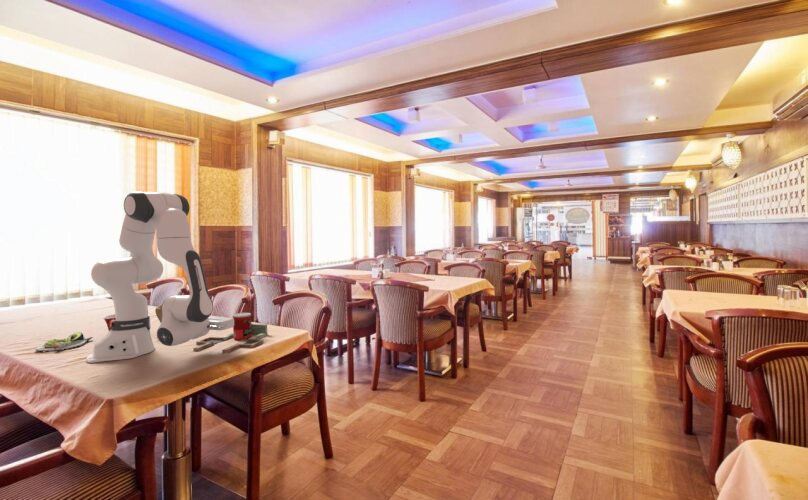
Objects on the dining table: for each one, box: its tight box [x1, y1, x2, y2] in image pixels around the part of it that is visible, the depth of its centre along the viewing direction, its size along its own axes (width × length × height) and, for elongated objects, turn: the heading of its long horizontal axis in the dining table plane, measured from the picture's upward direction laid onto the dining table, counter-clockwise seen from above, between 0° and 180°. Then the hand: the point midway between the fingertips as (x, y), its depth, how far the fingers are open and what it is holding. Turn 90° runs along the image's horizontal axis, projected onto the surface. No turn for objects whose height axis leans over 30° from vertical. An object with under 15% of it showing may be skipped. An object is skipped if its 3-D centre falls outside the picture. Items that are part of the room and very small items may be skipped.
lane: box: [193, 323, 268, 354], centre depth 174 cm, size 28×28×5 cm
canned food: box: [232, 312, 253, 341], centre depth 180 cm, size 8×8×11 cm
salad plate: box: [35, 331, 94, 352], centre depth 174 cm, size 19×18×5 cm
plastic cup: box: [102, 313, 116, 332], centre depth 183 cm, size 11×11×12 cm
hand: (222, 317), depth 169 cm, fingers closed
